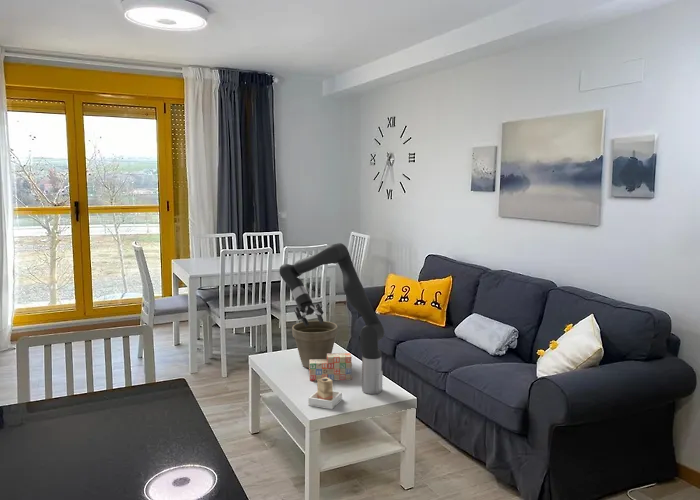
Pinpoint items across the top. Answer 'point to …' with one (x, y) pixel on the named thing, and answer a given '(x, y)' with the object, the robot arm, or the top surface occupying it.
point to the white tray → (325, 403)
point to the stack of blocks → (331, 367)
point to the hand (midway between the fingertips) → (314, 324)
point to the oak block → (325, 389)
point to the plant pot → (314, 340)
